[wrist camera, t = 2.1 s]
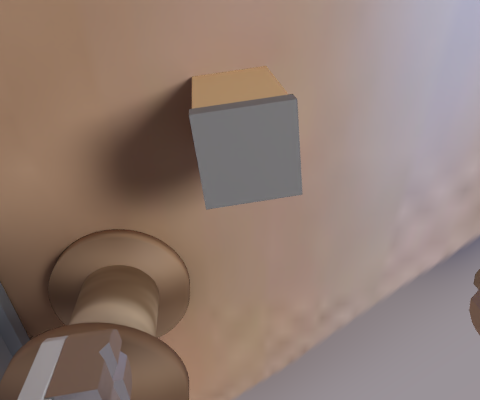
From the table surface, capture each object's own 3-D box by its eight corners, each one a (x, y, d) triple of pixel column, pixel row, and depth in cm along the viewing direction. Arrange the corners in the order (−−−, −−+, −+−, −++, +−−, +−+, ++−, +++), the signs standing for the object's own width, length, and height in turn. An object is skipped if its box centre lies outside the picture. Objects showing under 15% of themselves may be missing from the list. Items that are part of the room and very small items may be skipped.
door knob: (32, 241, 26) (-37, 357, 18) (176, 219, 26) (169, 324, 18) (76, 343, 30) (36, 472, 22) (199, 323, 31) (202, 444, 23)
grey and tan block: (189, 75, 22) (188, 115, 16) (267, 63, 22) (297, 99, 16) (202, 148, 24) (206, 209, 18) (273, 137, 24) (302, 194, 18)
